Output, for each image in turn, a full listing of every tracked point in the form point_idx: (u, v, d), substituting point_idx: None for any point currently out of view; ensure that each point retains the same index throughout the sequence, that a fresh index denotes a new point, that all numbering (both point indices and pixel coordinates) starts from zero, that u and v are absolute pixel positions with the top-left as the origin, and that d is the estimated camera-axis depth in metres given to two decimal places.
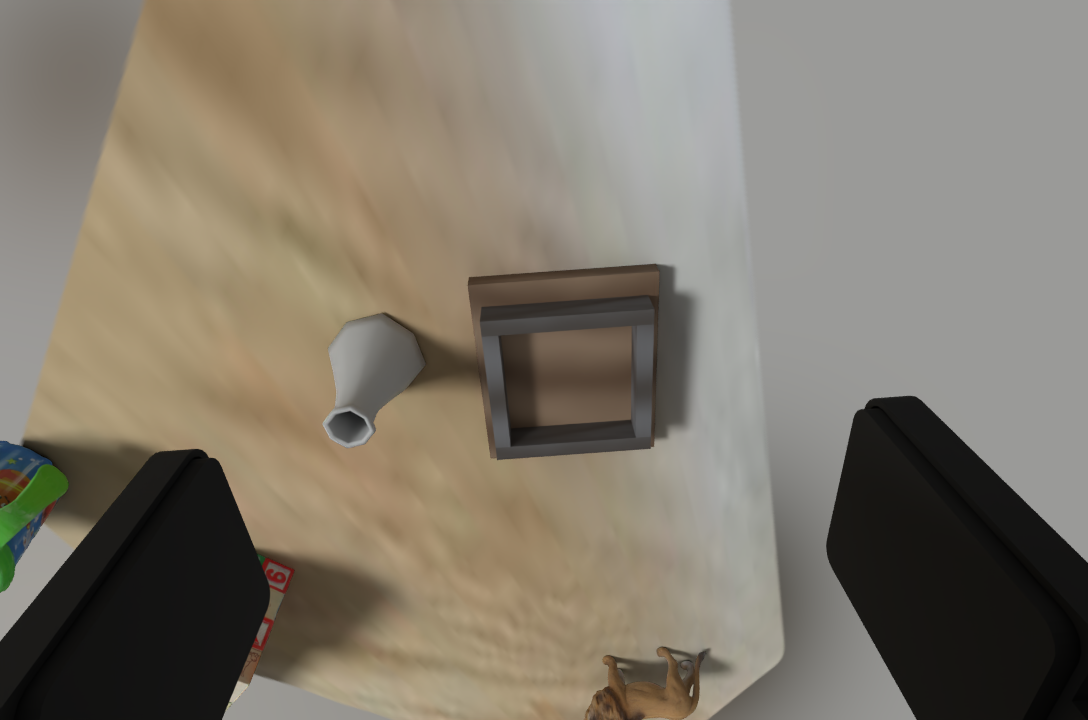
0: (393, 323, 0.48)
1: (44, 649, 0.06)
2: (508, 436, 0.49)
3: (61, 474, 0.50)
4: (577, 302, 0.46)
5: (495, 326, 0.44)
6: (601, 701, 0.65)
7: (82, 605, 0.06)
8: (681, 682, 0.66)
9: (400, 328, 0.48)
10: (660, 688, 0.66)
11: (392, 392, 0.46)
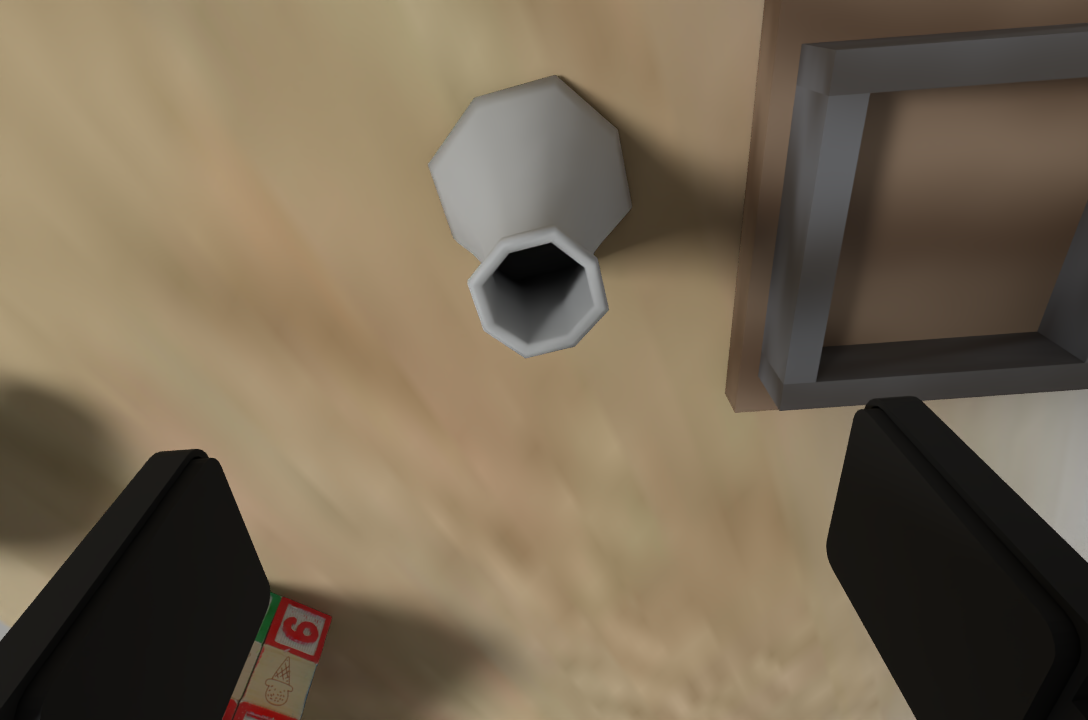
0: (579, 100, 0.21)
1: (45, 649, 0.06)
2: (817, 358, 0.23)
3: None
4: (1037, 27, 0.19)
5: (870, 65, 0.18)
6: None
7: (82, 605, 0.06)
8: None
9: (593, 113, 0.21)
10: None
11: (600, 239, 0.19)
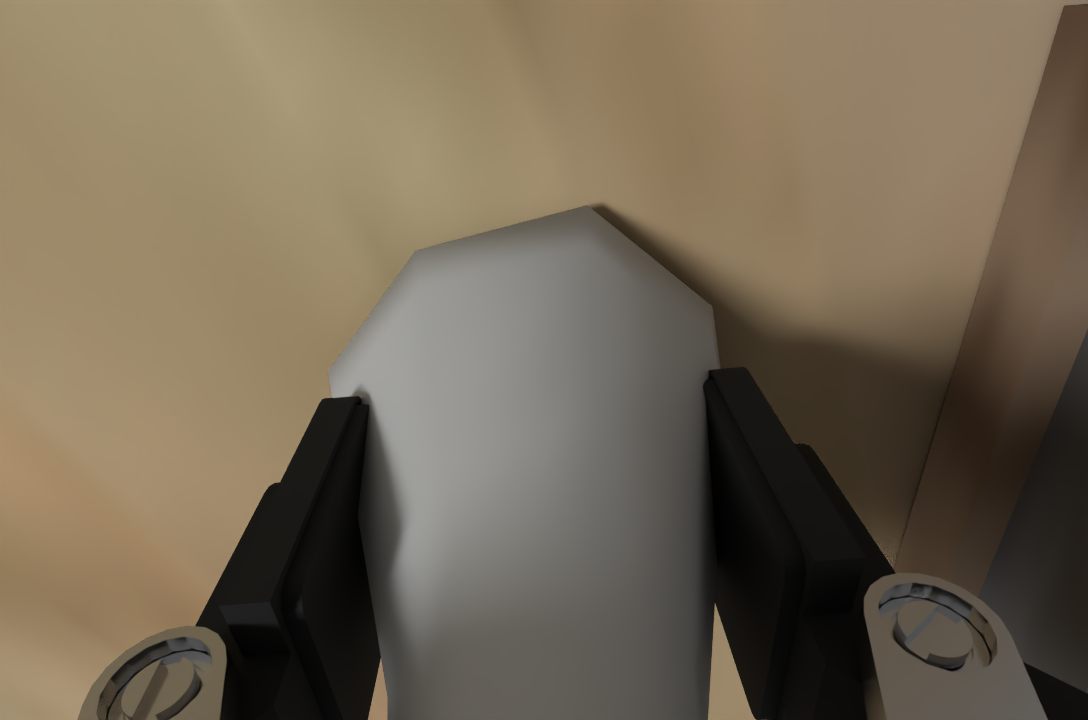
0: (638, 256, 0.10)
1: (292, 547, 0.07)
2: None
3: None
4: None
5: None
6: None
7: (308, 515, 0.07)
8: None
9: (667, 280, 0.10)
10: None
11: (710, 644, 0.08)
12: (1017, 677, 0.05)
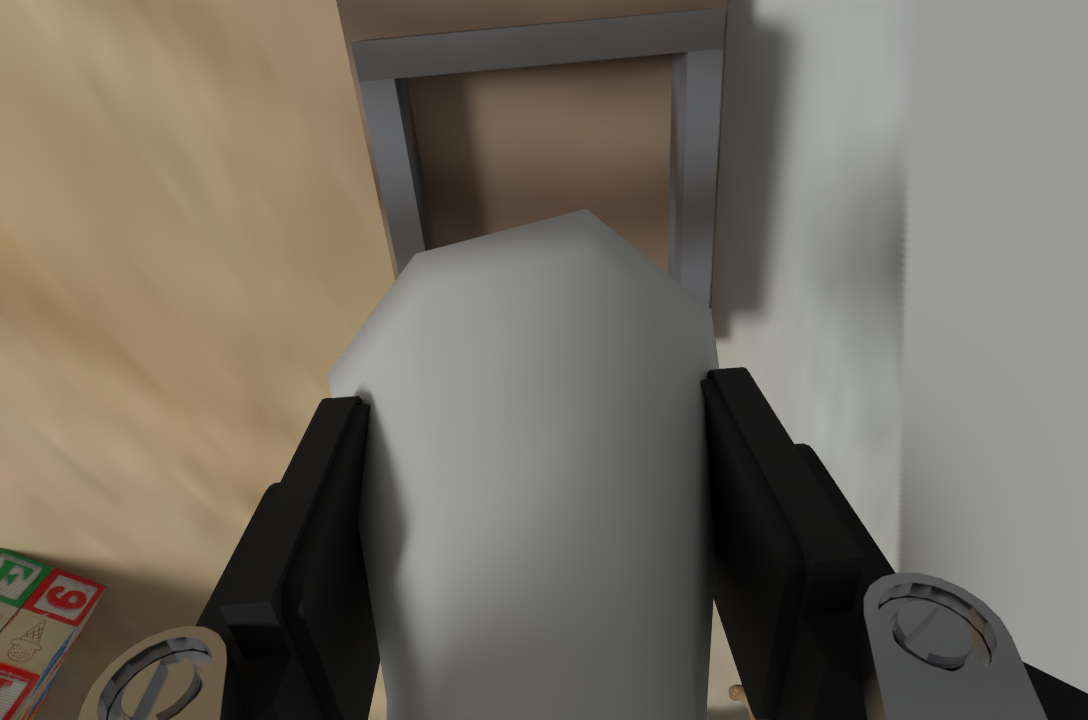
0: (637, 259, 0.10)
1: (292, 547, 0.07)
2: None
3: None
4: None
5: (386, 54, 0.21)
6: None
7: (308, 515, 0.07)
8: None
9: (666, 283, 0.10)
10: None
11: (708, 646, 0.08)
12: (1017, 677, 0.05)
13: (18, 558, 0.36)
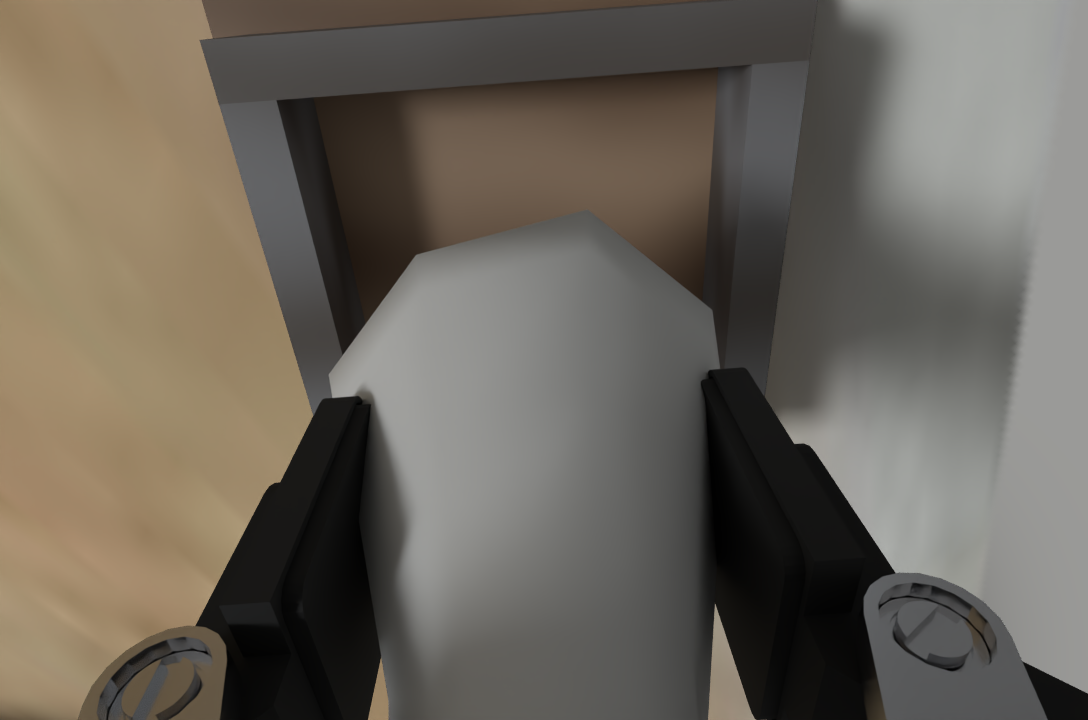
0: (639, 260, 0.10)
1: (292, 546, 0.07)
2: None
3: None
4: (549, 12, 0.14)
5: (260, 61, 0.13)
6: None
7: (308, 515, 0.07)
8: None
9: (667, 284, 0.10)
10: None
11: (710, 648, 0.08)
12: (1017, 677, 0.05)
13: None
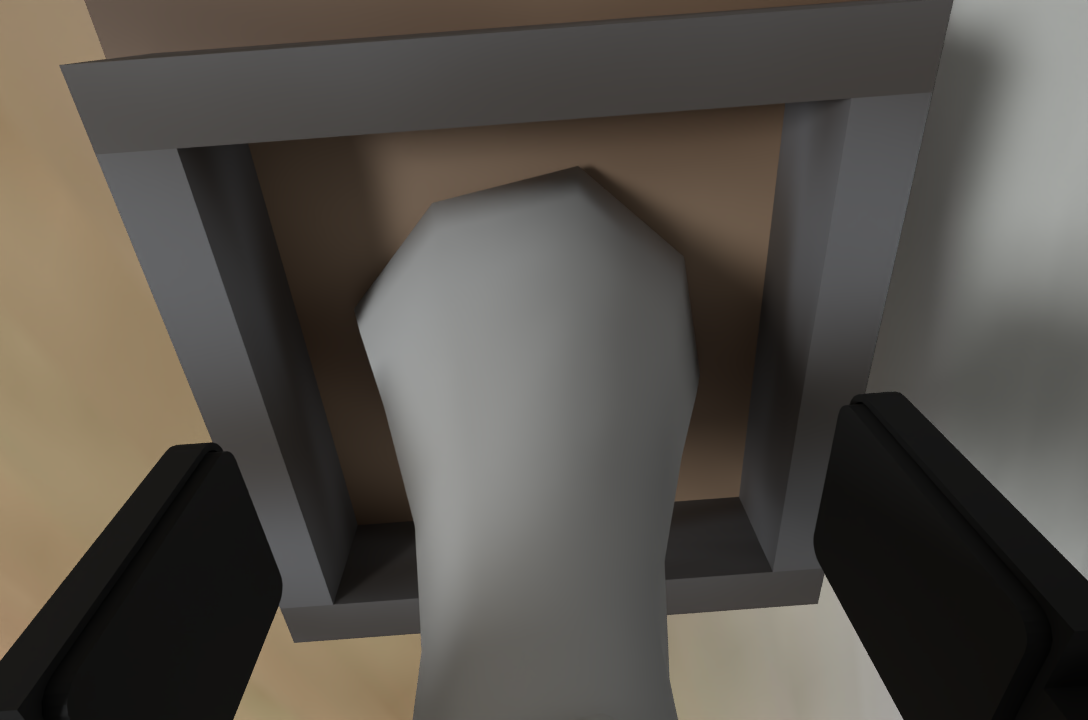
0: (621, 210, 0.12)
1: (70, 636, 0.06)
2: (319, 572, 0.14)
3: None
4: (562, 23, 0.10)
5: (150, 95, 0.09)
6: None
7: (105, 593, 0.06)
8: None
9: (645, 231, 0.12)
10: None
11: (670, 510, 0.10)
12: None
13: None
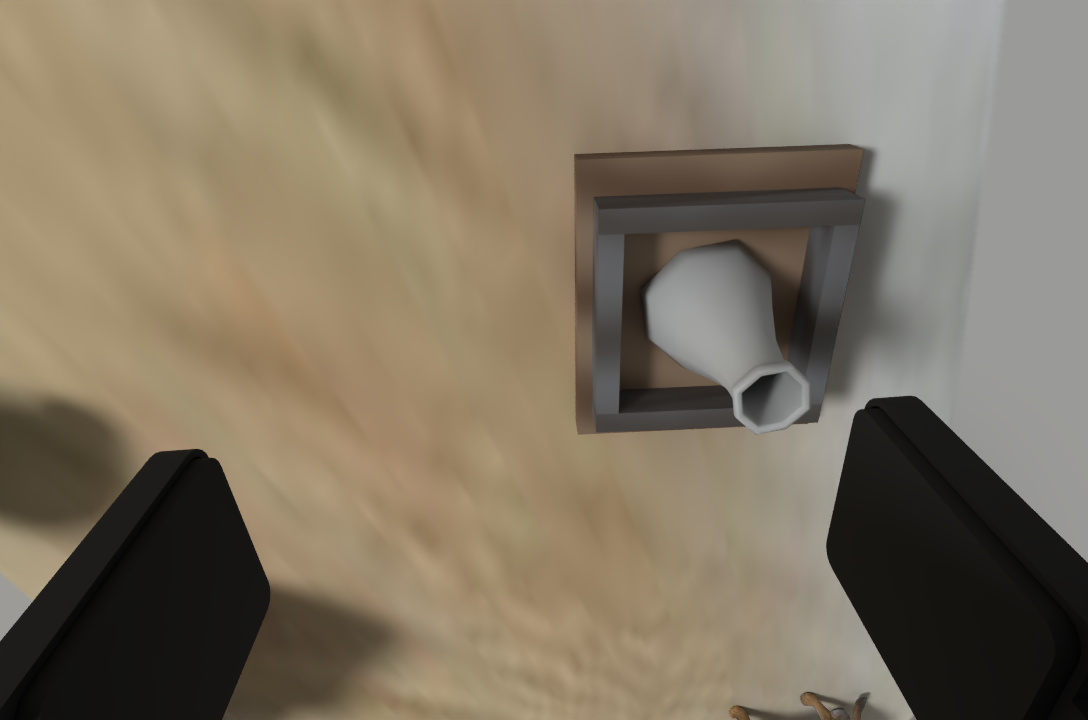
0: (749, 255, 0.32)
1: (45, 649, 0.06)
2: (617, 397, 0.34)
3: None
4: (738, 193, 0.31)
5: (622, 218, 0.29)
6: None
7: (82, 605, 0.06)
8: None
9: (757, 264, 0.32)
10: None
11: None
12: None
13: None
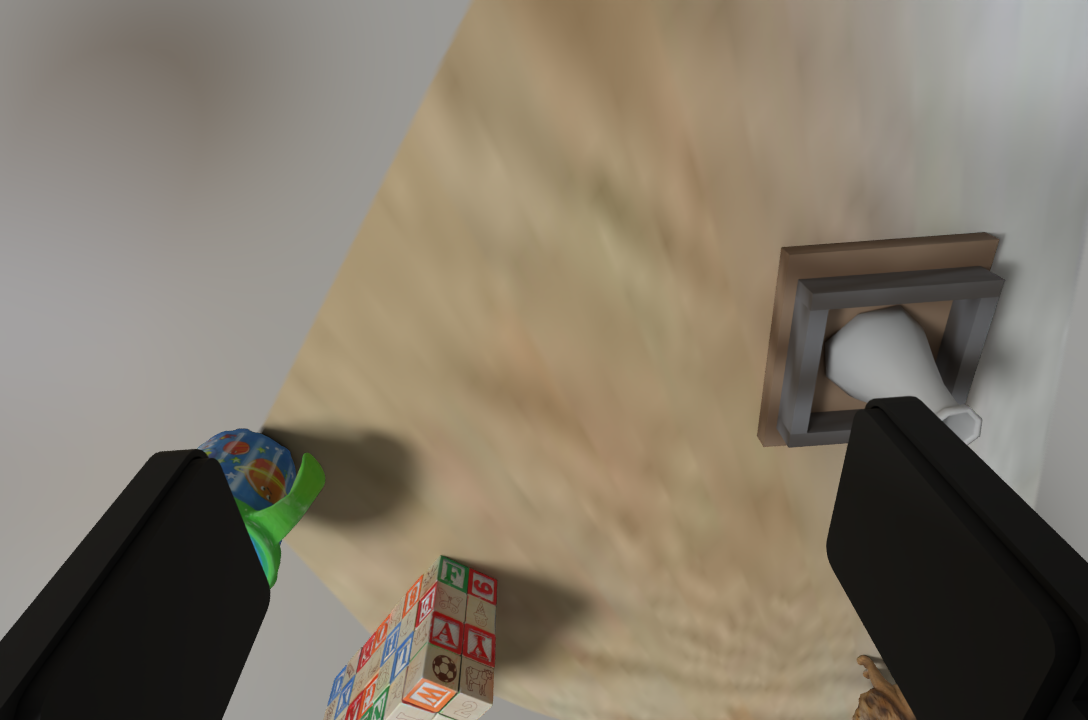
0: (909, 316, 0.44)
1: (46, 649, 0.06)
2: (807, 421, 0.45)
3: (318, 464, 0.46)
4: (905, 273, 0.42)
5: (828, 299, 0.40)
6: (874, 704, 0.61)
7: (82, 605, 0.06)
8: None
9: (915, 321, 0.44)
10: None
11: None
12: None
13: (451, 562, 0.56)
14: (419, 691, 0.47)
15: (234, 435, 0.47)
